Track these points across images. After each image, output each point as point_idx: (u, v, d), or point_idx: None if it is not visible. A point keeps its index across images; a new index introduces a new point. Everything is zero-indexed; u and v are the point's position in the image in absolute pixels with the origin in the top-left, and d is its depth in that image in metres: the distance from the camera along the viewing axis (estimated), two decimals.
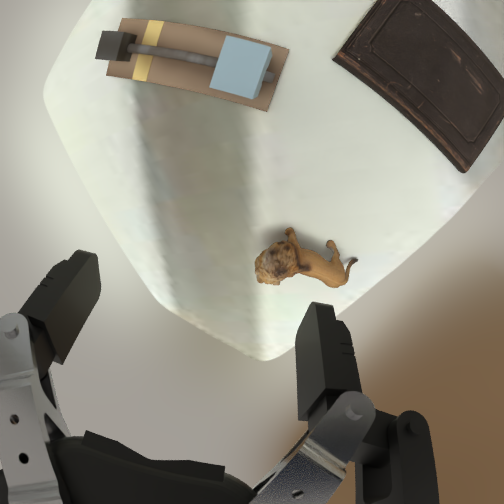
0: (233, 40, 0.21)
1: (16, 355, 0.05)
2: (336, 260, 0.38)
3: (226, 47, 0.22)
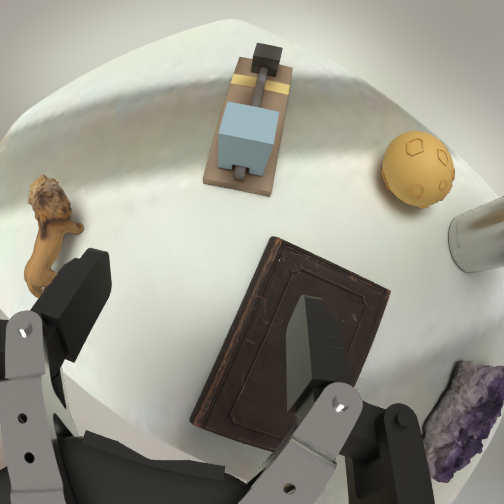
0: (274, 117, 0.27)
1: (28, 353, 0.06)
2: (52, 276, 0.28)
3: (267, 112, 0.27)
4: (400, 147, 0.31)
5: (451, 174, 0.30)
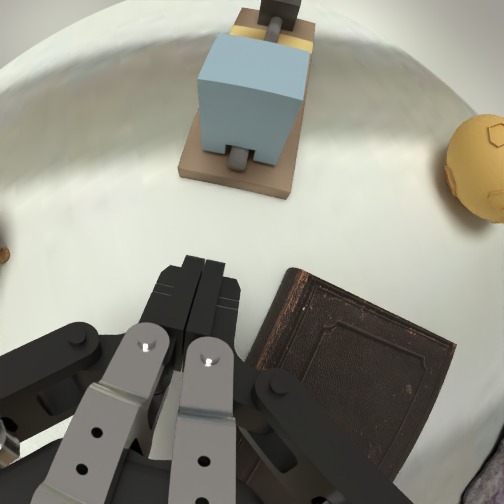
0: (302, 58, 0.14)
1: (138, 370, 0.06)
2: None
3: (289, 50, 0.14)
4: (478, 134, 0.17)
5: None
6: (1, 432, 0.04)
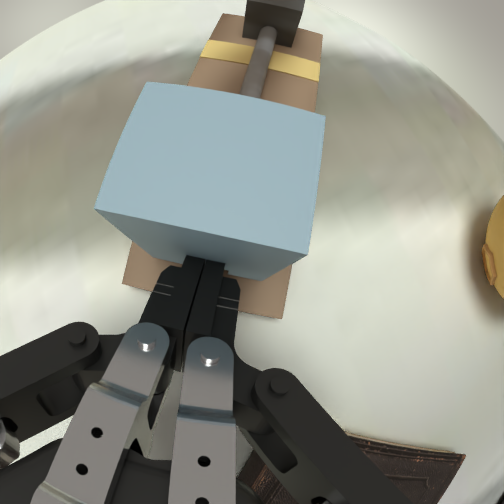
0: (310, 134, 0.07)
1: (138, 370, 0.06)
2: None
3: (284, 114, 0.07)
4: None
5: None
6: (1, 432, 0.04)
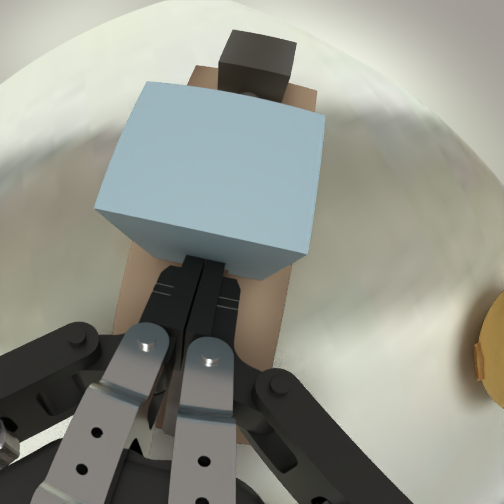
0: (310, 134, 0.07)
1: (138, 370, 0.06)
2: None
3: (284, 114, 0.07)
4: None
5: None
6: (1, 432, 0.04)
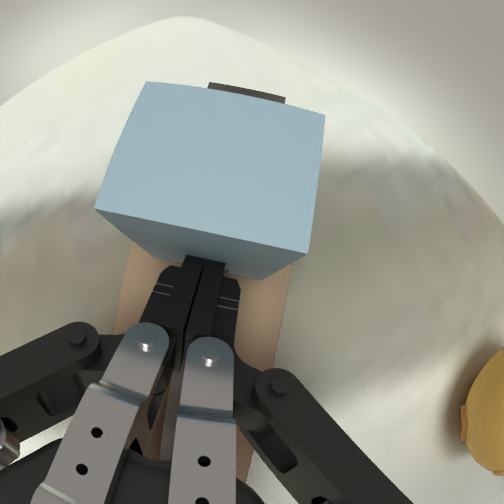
0: (310, 133, 0.07)
1: (138, 370, 0.06)
2: None
3: (283, 113, 0.07)
4: None
5: None
6: (1, 432, 0.04)
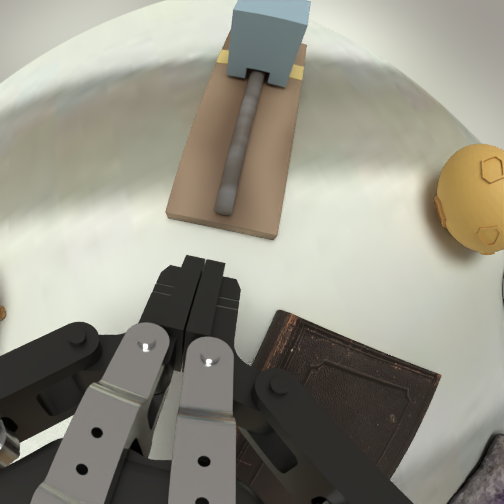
0: (305, 4, 0.17)
1: (138, 370, 0.06)
2: None
3: None
4: (470, 168, 0.18)
5: None
6: (1, 432, 0.04)
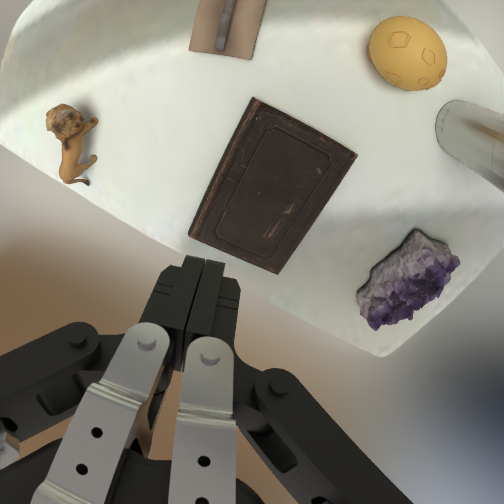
0: None
1: (138, 370, 0.06)
2: (80, 168, 0.38)
3: None
4: (384, 34, 0.24)
5: (437, 74, 0.24)
6: (1, 432, 0.04)
